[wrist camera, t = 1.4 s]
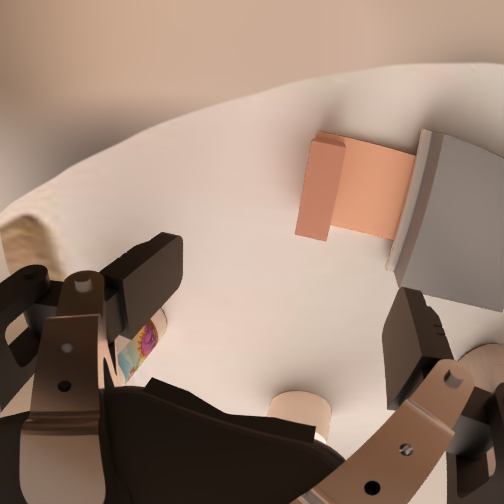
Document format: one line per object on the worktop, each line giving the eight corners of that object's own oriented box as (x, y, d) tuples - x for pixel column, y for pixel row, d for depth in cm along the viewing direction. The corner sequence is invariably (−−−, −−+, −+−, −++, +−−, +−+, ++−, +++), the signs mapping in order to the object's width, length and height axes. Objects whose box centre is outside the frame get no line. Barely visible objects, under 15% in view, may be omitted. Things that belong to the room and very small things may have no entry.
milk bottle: (115, 309, 41) (25, 400, 24) (133, 279, 38) (25, 379, 20) (154, 344, 42) (76, 446, 24) (178, 319, 38) (87, 437, 21)
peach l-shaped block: (512, 192, 21) (544, 210, 16) (488, 265, 24) (511, 294, 19) (317, 131, 25) (312, 133, 19) (302, 216, 28) (293, 240, 23)
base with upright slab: (330, 427, 40) (319, 494, 30) (273, 423, 43) (253, 487, 32) (332, 392, 37) (321, 469, 26) (267, 388, 39) (242, 460, 29)
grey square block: (524, 171, 20) (550, 183, 15) (485, 286, 25) (501, 312, 21) (417, 128, 22) (434, 129, 18) (383, 260, 28) (390, 286, 23)
